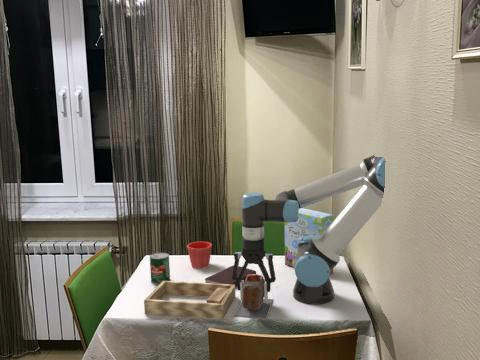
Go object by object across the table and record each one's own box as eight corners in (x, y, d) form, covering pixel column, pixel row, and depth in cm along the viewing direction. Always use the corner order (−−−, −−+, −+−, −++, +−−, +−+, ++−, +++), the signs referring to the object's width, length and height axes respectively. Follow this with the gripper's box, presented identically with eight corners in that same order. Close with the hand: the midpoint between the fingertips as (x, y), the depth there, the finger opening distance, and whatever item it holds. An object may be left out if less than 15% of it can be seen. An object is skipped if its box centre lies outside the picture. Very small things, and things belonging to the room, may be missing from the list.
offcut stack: (231, 299, 192) (230, 287, 191) (221, 316, 177) (221, 303, 177) (215, 298, 193) (214, 286, 192) (204, 315, 179) (203, 302, 178)
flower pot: (198, 271, 223) (197, 249, 221) (183, 265, 231) (182, 244, 229) (217, 265, 230) (216, 244, 228) (202, 260, 238) (201, 240, 237)
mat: (272, 300, 190) (272, 299, 190) (266, 318, 175) (266, 317, 175) (243, 298, 192) (243, 297, 192) (234, 316, 177) (234, 315, 177)
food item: (245, 294, 190) (244, 268, 189) (266, 294, 189) (266, 268, 188) (241, 309, 177) (240, 281, 175) (264, 309, 176) (263, 282, 174)
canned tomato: (169, 276, 217) (168, 251, 215) (171, 283, 210) (170, 257, 208) (150, 278, 215) (148, 253, 214) (151, 285, 208) (150, 259, 206)
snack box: (283, 266, 228) (282, 209, 224) (296, 261, 234) (296, 206, 230) (321, 278, 212) (322, 217, 208) (334, 272, 218) (335, 213, 214)
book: (256, 277, 216) (256, 270, 215) (228, 291, 201) (228, 283, 200) (233, 272, 223) (232, 264, 223) (204, 285, 208) (203, 277, 207)
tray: (235, 297, 194) (235, 284, 193) (223, 319, 175) (223, 305, 174) (163, 293, 199) (163, 280, 199) (144, 313, 181) (144, 300, 180)
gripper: (221, 239, 178) (223, 301, 182) (281, 241, 174) (281, 305, 177) (226, 233, 185) (228, 293, 189) (284, 235, 181) (284, 297, 185)
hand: (254, 299), depth 183 cm, fingers closed on food item, 8 cm apart
